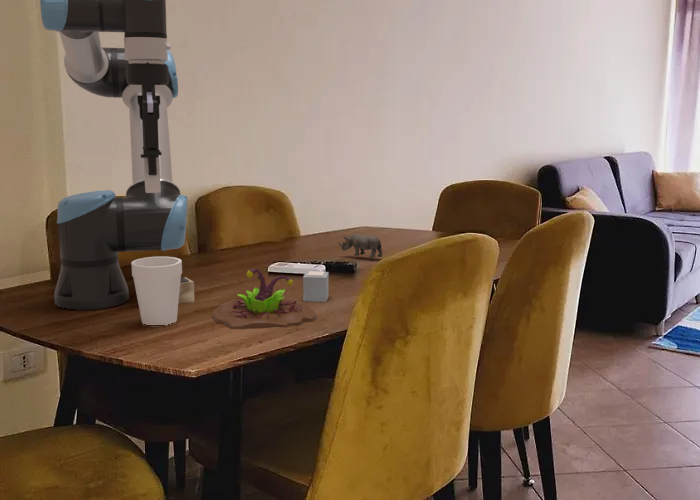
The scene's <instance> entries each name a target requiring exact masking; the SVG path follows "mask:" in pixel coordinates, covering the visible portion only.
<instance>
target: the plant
mask: <svg viewBox="0 0 700 500" xmlns="http://www.w3.org/2000/svg"><path fill="white" fill-rule="evenodd" d="M255 273H257V274H258V275H257V277H256V278H257V281H258V282H259V283H260V285H259V287H256V286H255V287H254V288H253V290H252V291H250V290H246V294H247V296H246V295H245V294H241V293H237V296H238V297H239V298H238V299H232V300H230V301H227V302H224V303H221V304H219V305H218V306H217V307H216V308H215V309H214V310H213V313H212V317H213V320H214V321H215V323H217V324H221V325H224V326H226V327H228V328H229V329H231V330H246V329H264V328H265V329H266V328H276V327H277V328H288V327H292V326H293V327H295V326H296V327H297V326H301V325H302V324H303V323H305V322H307V323H308V322H309V323H310V322H315V321H316V319H317V312H316V311H315V310H313V309H312V308H311V307H309V305H308V304H306V303H304V302H302V301H300V300H297V299H294V298H287V297H286V296H283V294H284V293H285V291H286V289H285V288H283V289H279V290H277V291H275V292H274V287H275V285H276V284H277V282H278V281H279V280H282V279H285V280H286V285H287V286H290V287H291V286H292V285H293V284H294V283H293V282H294V281H293V279H292V278H290V277H289V276H286V275H279V276H277V277H275V278H273V279H272V280H271V282H269V283H268V285H267V283H266V278H265V277H264V274H263V273H262V271H261V270H259V269H258V268H251V269H248V270H247V271H246V277H247V278H248V279H250V278H253V277H254V275H255Z"/></svg>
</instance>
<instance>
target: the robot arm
mask: <svg viewBox="0 0 700 500" xmlns="http://www.w3.org/2000/svg"><path fill="white" fill-rule="evenodd" d="M166 3H167V2H166V0H39V5H40V7H39V8H40V16H41V22H42V27H43V28H44V29H45V30H48V31H53V32H55V31H56V32H58V33H59V36H60V37H59V38H60V39H61V43H62V45H63V50H64V52H65V54H64V57H63V63H64V67H65V71H66V73H67V75H68V76H69V78H70V80H71V81H73V82H74V83H75V84H76V85H77V86H78V87H80V88H81V89H82V90H85V91H87V92H89V93H91V94H93V95H96V96H100V97H105V98H113V99H114V98H115V99H116V98H117V99H118V98H121V99H122V102H123V104H124V105H125V106H126V107H127V108H128V109H129V128H130V133H129V134H130V149H131V150H130V151H131V153H130V154H131V173H132V184H130V186H129V187H127V190H126V192H125V197H124V196H123V197H118V196H117V197H116V193H115V191H114V190H110V189H107V190H94V191H93V190H92V191H88V192H87V191H86V192H82V193H78V194H77V193H76V194H73V195H69V196H66V197H64V198H62V199H61V200H60V201H58V204H57V220H56V224H58V225H57V226H58V237H59V238H58V240H59V253H60V254H59V255H60V256H59V257H60V272H59V274H58V278H57V279H58V280H57V283H56V285H55V290H54V294H53V295H54V305H55V306H56V305H57V306H56V307H58V308H60V307H62V308H61V309H64V308H67V309H66V310H70V309H76V310H75V311H92V310H93V311H94V310H101V309H106V308H112V307H116V306H119V305H122V304H125V303H126V302H127V301H129V299H130V294H129V293H130V292H129V287H128V284H127V281H126V279H125V276H124V275H123V271H122V269H121V267H120V266H121V265H120V264H119V263H120V262H119V253H122V252H124V253H125V252H145V251H161V252H164V251H167V250H176V249H180V248H182V247H183V246H184V245H185V243H186V231H187V215H188V196H187V195H184V194H181V190H180V188H179V187H178V185H177V184H176V183H174V182H173V172H172V170H173V169H172V157H171V146H170V145H171V144H170V142H171V141H170V132H169V131H170V130H169V128H170V127H169V117H168V116H169V115H168V108H169V107H170V106H171V104H172V102H173V99H175V98H177V97H178V95H179V81H178V76H177V67H176V63H175V58H174V57H173V54H172V53H171V51H170V50H171V49H172V47H171V44H169V43H167V42H168V40H167V39H168V34H167V4H166ZM107 32H108V33H124V35H123V36H124V38H123V41H124V42H123V45H124V46H123V47H103V46H102V43H101V39H100V38H101V37H100V33H107ZM166 43H167V44H166Z"/></svg>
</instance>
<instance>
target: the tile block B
mask: <svg viewBox="0 0 700 500" xmlns="http://www.w3.org/2000/svg"><path fill="white" fill-rule="evenodd" d="M329 274H330V273H329V271H311V270H309V271H305V273H304V274H303V277H302V286H303V288H302V289H303V291H302V294H303V296H302V297H303V298H302V300H303V302H317V303H318V302H319V303H321V302H324V303H326V302H327V301H328V298H329V278H330V277H329Z"/></svg>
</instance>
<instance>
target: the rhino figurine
mask: <svg viewBox="0 0 700 500" xmlns="http://www.w3.org/2000/svg"><path fill="white" fill-rule="evenodd" d="M342 237H343V239H344V240H345V241H342V243H340V241H338V242H337V243H338V245H339V246H340V247H341V249H342V251H344V252H345V251H347V250H349V249H351V248H352V247H353V249H354V250H355V253H354V254H353V256H354V257H357V256H360V255H365V254H366V252H365V251H368V250H370V251H371V253H370V255H369V256H368V257H369V258H371V259H372V258H373V259H374V258H376V254H377V251H378V255H377V258H383V257H384V256H383V248H382V242H381V239H380V238H379V237H378V236H376V235H370V234H369V235H362V234H360V233H353V234H352V235H347V236H342Z"/></svg>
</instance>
